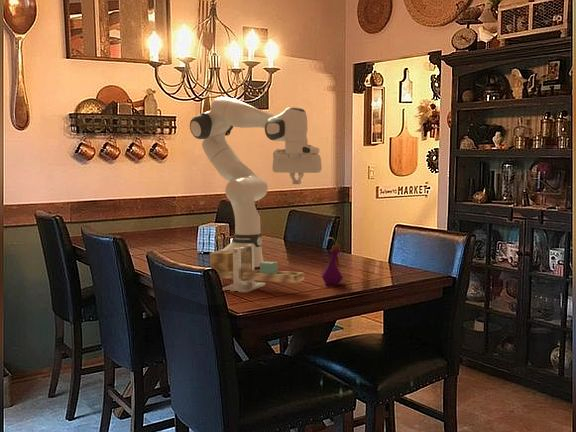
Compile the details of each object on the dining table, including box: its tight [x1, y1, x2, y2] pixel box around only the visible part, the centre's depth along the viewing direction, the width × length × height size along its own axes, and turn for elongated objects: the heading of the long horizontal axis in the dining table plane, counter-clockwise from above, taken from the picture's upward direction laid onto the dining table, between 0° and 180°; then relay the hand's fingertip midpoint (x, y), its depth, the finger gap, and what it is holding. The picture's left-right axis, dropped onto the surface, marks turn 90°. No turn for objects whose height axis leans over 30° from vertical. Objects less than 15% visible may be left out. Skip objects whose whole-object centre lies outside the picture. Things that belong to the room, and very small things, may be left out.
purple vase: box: [320, 236, 343, 287], centre depth 248 cm, size 8×8×18 cm
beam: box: [209, 250, 305, 284], centre depth 241 cm, size 36×6×10 cm, turn 62°
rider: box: [259, 261, 279, 274], centre depth 239 cm, size 5×4×5 cm
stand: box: [222, 245, 266, 294], centre depth 244 cm, size 10×14×15 cm
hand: (296, 184), depth 259 cm, fingers closed
